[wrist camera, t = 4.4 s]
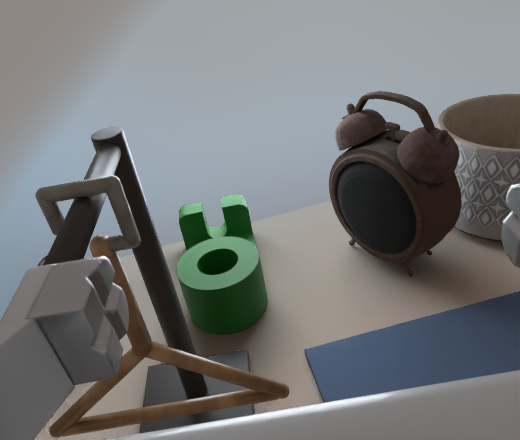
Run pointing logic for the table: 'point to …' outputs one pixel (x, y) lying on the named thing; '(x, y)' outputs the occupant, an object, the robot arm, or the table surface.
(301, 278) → the table surface
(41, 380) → the robot arm
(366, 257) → the table surface
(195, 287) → the green bracket
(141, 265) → the rail
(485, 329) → the mat
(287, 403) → the table surface
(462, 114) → the planter
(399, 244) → the alarm clock
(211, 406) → the hanger
